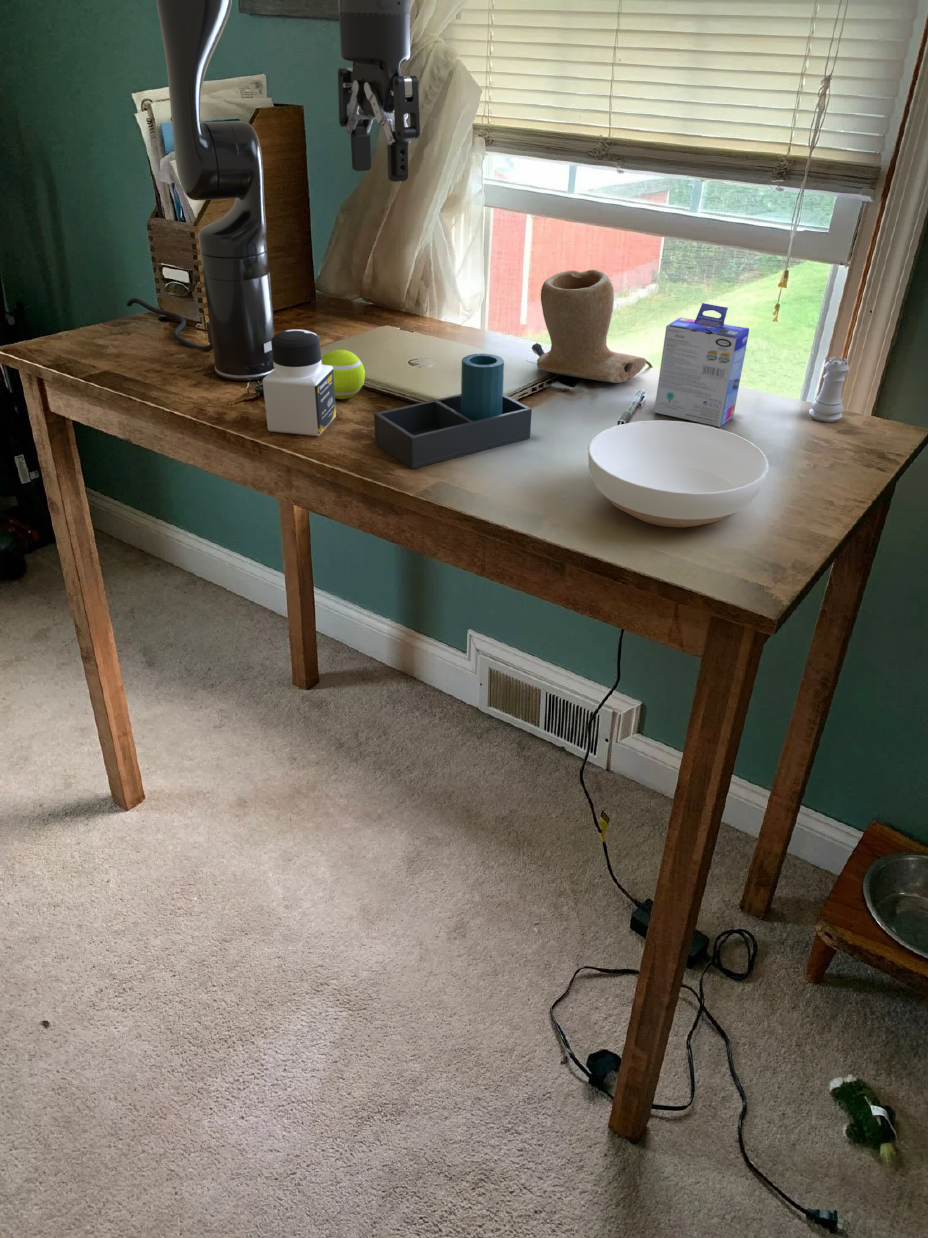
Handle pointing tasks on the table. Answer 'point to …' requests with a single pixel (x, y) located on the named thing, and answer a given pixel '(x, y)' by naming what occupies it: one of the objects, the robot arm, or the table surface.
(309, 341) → the medicine bottle
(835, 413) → the rook chess piece
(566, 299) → the clay platform pipe
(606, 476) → the bowl
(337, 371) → the tennis ball
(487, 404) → the jar
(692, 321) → the ink cartridge box
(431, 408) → the divided tray
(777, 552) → the table surface
